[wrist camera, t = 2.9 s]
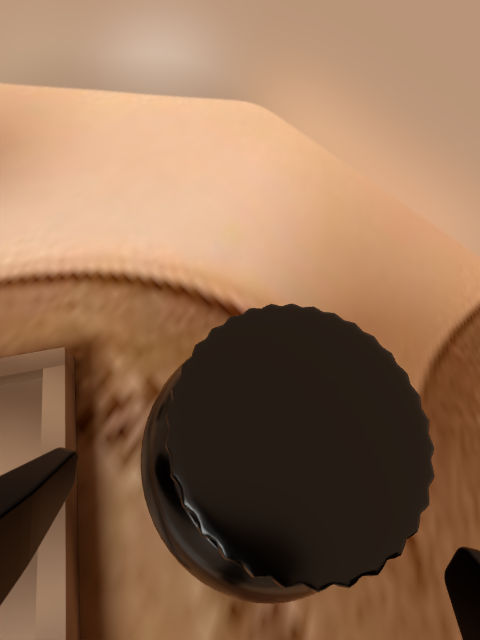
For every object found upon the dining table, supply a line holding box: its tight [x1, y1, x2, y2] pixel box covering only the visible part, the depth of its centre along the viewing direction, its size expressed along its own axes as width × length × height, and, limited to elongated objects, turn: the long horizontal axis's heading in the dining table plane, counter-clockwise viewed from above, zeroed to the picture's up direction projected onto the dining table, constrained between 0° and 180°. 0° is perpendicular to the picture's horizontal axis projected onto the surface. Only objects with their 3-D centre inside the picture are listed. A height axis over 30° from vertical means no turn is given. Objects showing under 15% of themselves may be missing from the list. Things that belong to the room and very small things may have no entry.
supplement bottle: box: [141, 304, 434, 604], centre depth 11 cm, size 7×7×12 cm
